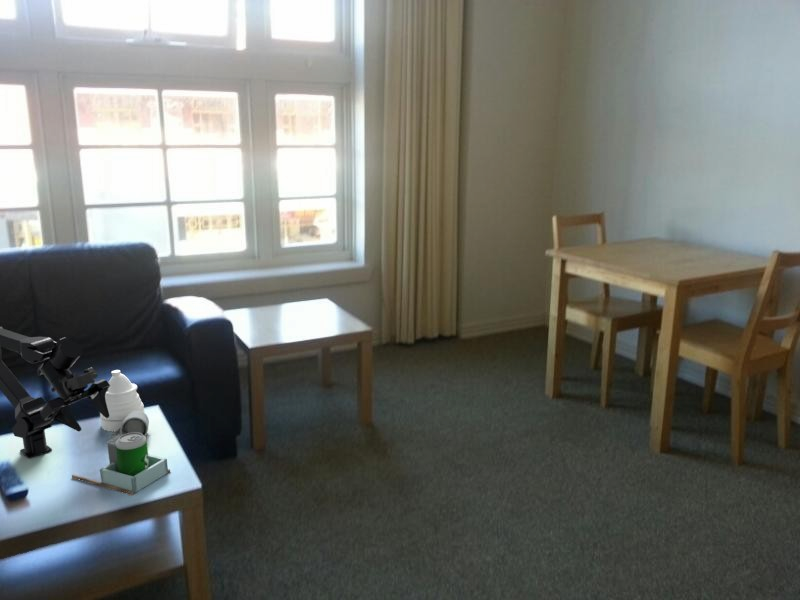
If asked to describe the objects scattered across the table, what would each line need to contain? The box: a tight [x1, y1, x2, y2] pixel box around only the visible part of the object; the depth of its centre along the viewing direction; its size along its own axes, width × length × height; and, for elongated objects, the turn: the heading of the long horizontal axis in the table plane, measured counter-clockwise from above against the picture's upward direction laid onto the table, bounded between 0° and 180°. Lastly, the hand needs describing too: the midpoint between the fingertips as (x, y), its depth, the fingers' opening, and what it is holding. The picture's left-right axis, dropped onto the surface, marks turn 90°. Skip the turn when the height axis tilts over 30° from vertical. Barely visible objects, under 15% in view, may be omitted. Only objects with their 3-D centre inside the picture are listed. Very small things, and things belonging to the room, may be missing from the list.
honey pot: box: [99, 369, 146, 433], centre depth 208 cm, size 13×13×18 cm
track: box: [71, 468, 171, 496], centre depth 177 cm, size 22×13×1 cm, turn 65°
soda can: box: [116, 432, 149, 476], centre depth 174 cm, size 8×8×12 cm
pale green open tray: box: [99, 437, 169, 494], centre depth 174 cm, size 13×12×10 cm
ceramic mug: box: [111, 411, 150, 439], centre depth 199 cm, size 11×8×8 cm
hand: (94, 423), depth 178 cm, fingers open, 9 cm apart
